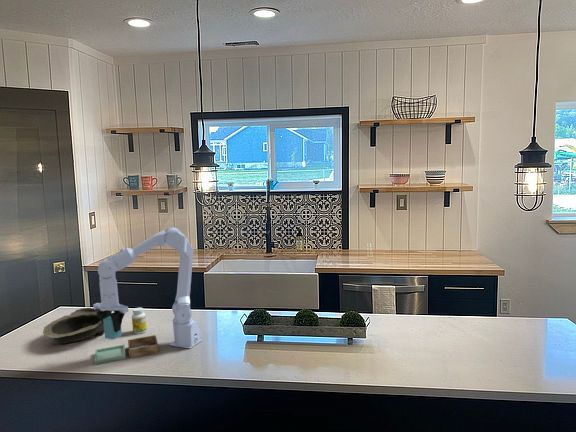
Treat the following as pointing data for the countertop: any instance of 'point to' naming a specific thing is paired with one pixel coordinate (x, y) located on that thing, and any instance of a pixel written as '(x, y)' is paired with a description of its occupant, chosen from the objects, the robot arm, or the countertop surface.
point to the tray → (110, 354)
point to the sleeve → (143, 350)
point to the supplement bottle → (139, 321)
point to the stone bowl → (75, 326)
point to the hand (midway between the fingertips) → (112, 330)
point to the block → (110, 329)
